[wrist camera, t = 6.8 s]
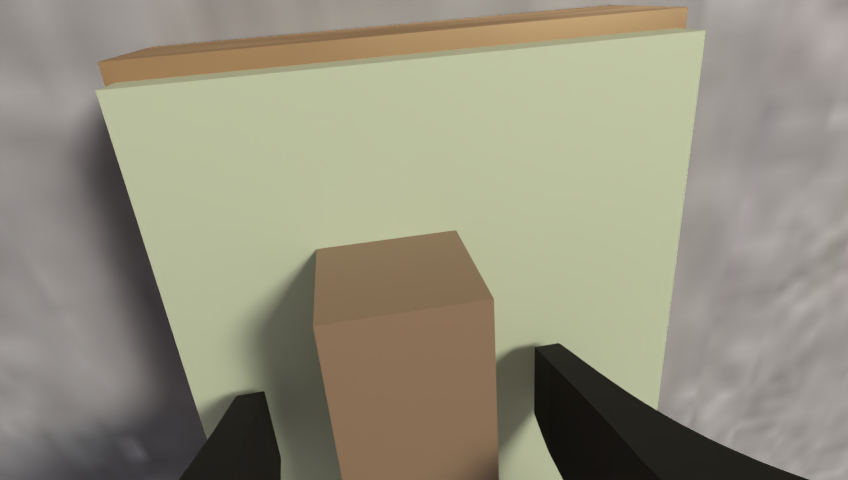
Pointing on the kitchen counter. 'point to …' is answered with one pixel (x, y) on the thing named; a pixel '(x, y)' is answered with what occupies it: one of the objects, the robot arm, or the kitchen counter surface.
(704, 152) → the kitchen counter surface
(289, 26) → the kitchen counter surface
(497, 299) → the lid
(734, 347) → the kitchen counter surface
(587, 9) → the wooden slab
